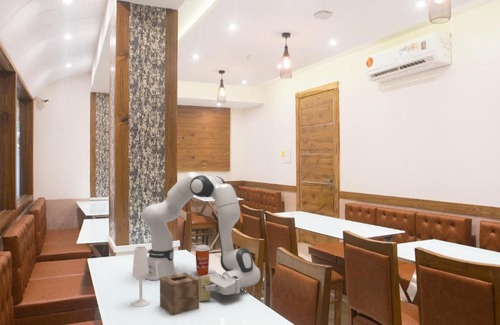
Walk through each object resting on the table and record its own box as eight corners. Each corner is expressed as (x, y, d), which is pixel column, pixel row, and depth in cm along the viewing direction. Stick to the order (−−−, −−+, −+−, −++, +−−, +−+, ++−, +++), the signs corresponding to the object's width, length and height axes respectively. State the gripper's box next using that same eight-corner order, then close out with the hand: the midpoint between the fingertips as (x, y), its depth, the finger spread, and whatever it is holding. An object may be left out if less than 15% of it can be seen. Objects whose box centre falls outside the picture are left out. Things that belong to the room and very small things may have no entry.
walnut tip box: (185, 299, 166) (185, 272, 166) (198, 308, 156) (198, 279, 156) (160, 305, 158) (159, 277, 159) (171, 315, 149) (171, 284, 149)
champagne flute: (142, 299, 167) (142, 245, 167) (152, 302, 162) (151, 247, 162) (129, 303, 161) (129, 247, 161) (138, 307, 157) (138, 250, 157)
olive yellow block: (207, 297, 167) (207, 275, 167) (210, 299, 165) (210, 276, 165) (198, 299, 164) (198, 276, 164) (201, 301, 162) (200, 278, 162)
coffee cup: (195, 277, 198) (195, 248, 198) (194, 272, 206) (193, 245, 206) (211, 275, 200) (211, 247, 200) (209, 271, 208) (208, 244, 208)
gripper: (217, 269, 180) (191, 274, 172) (241, 279, 164) (214, 286, 156) (217, 282, 180) (191, 288, 172) (241, 294, 164) (214, 301, 156)
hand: (202, 287), depth 164 cm, fingers closed on olive yellow block, 2 cm apart
